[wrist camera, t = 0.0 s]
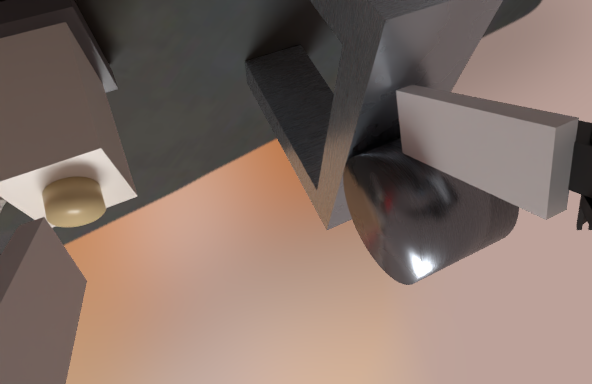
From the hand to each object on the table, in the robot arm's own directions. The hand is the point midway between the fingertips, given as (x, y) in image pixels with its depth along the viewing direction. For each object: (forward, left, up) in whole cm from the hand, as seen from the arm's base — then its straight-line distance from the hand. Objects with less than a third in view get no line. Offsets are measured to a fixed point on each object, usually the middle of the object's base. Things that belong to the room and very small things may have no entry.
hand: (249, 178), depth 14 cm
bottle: (+4, -7, -16) cm, 18 cm away
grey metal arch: (+4, +8, -16) cm, 18 cm away
